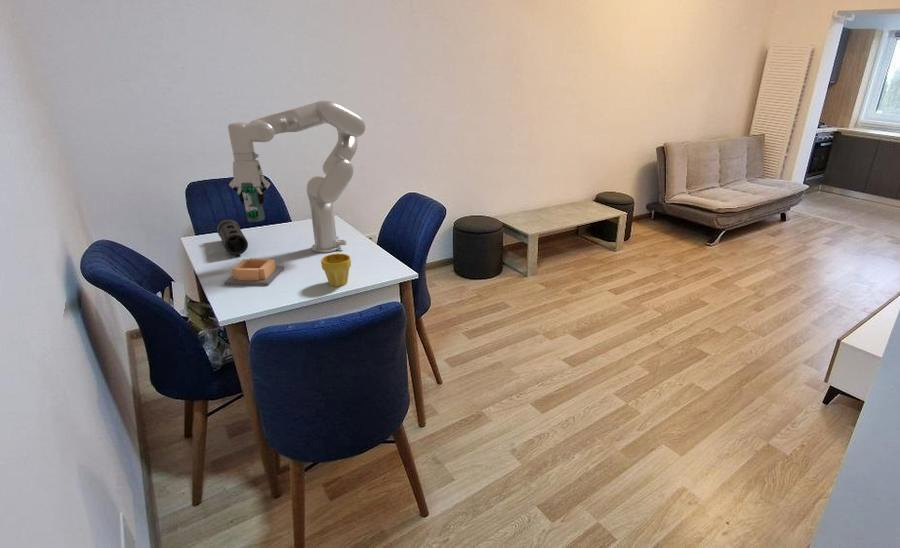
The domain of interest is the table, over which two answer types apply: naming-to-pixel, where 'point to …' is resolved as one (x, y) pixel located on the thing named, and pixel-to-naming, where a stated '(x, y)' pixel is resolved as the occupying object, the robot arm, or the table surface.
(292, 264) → the table surface
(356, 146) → the robot arm
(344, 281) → the plant pot
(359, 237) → the table surface
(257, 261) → the socket block
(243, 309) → the table surface
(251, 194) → the can
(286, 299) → the table surface
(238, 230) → the muzzle brake
